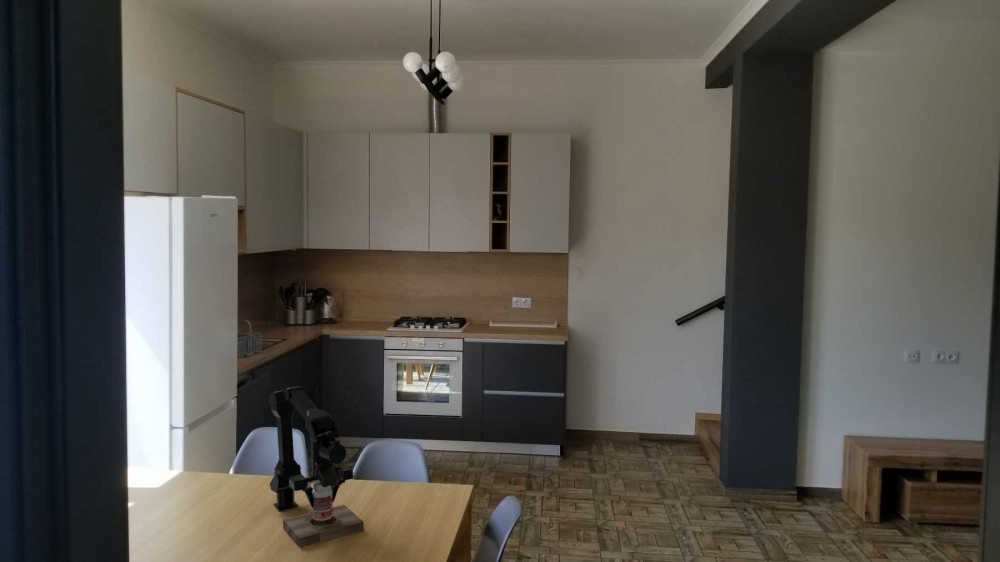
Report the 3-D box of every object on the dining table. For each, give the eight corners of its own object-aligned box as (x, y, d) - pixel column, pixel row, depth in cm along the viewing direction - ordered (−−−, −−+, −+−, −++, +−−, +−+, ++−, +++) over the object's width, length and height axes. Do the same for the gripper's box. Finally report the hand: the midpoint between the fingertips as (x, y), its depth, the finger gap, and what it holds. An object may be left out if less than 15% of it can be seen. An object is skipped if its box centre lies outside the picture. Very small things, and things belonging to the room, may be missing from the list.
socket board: (283, 528, 215) (282, 519, 215) (344, 513, 226) (344, 504, 226) (299, 548, 202) (299, 538, 201) (363, 530, 213) (363, 521, 213)
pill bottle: (335, 518, 213) (335, 482, 212) (316, 523, 209) (315, 487, 208) (329, 511, 218) (328, 476, 217) (309, 516, 214) (308, 480, 214)
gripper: (299, 469, 200) (301, 521, 201) (359, 457, 211) (360, 506, 212) (287, 458, 209) (289, 508, 211) (346, 447, 220) (347, 494, 221)
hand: (322, 504), depth 213 cm, fingers closed on pill bottle, 6 cm apart
